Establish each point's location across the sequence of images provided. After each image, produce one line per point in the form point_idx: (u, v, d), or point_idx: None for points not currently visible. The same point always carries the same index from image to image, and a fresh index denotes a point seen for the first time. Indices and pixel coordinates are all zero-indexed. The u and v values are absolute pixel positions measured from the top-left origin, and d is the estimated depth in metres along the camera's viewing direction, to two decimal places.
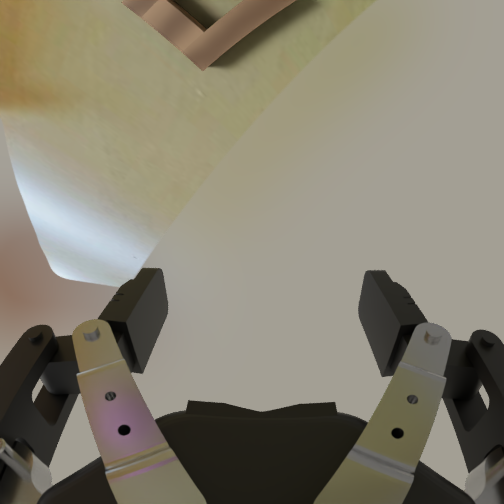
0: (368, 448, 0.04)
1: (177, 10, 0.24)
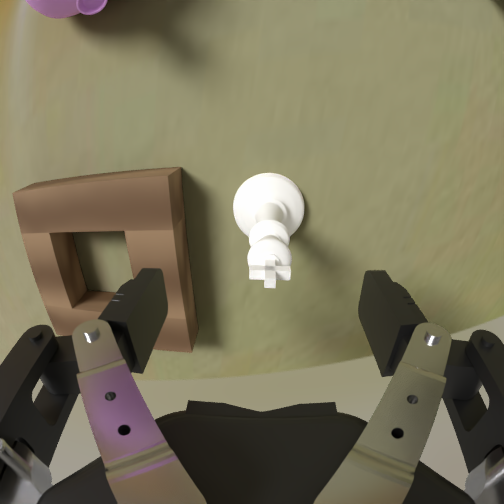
0: (368, 448, 0.04)
1: (56, 264, 0.20)
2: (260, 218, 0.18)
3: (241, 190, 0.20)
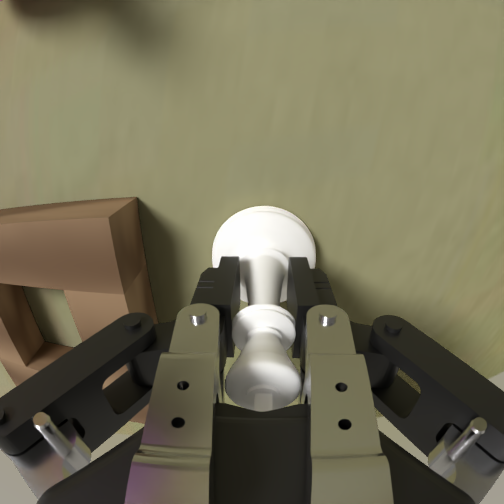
0: (368, 448, 0.04)
1: (0, 317, 0.14)
2: (250, 285, 0.11)
3: (222, 233, 0.13)
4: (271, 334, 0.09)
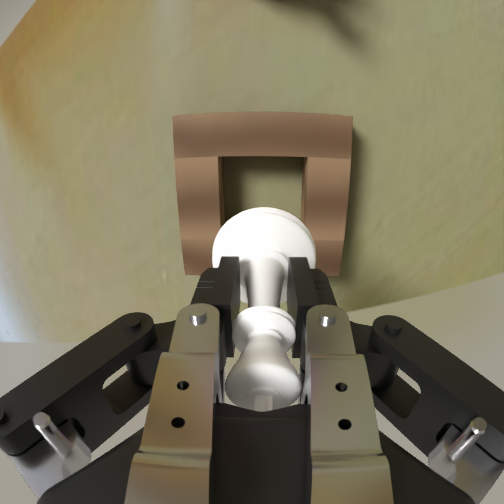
0: (368, 448, 0.04)
1: (217, 190, 0.24)
2: (250, 287, 0.11)
3: (223, 234, 0.13)
4: (271, 336, 0.09)
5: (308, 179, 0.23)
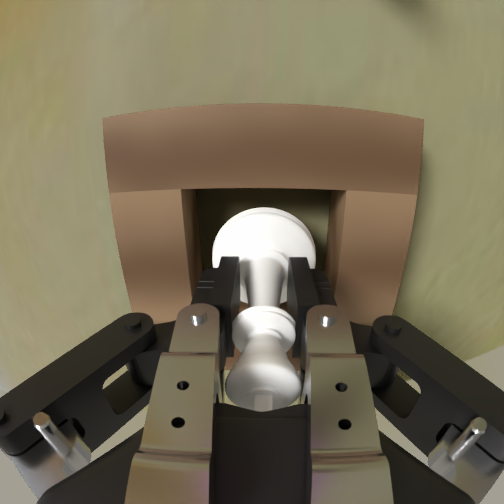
0: (368, 448, 0.04)
1: (183, 247, 0.14)
2: (250, 287, 0.11)
3: (223, 235, 0.13)
4: (271, 336, 0.09)
5: (345, 230, 0.13)
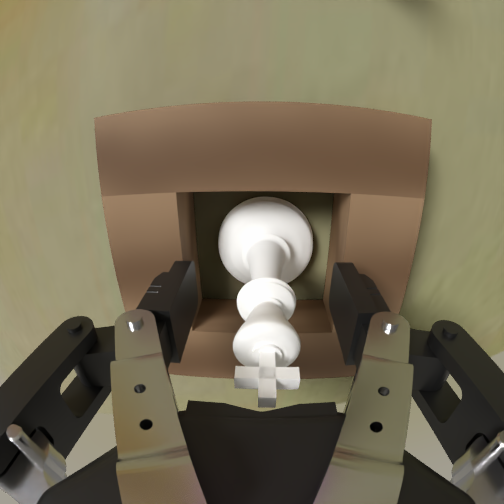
0: (368, 448, 0.04)
1: (179, 253, 0.13)
2: (253, 266, 0.13)
3: (228, 221, 0.15)
4: (273, 303, 0.10)
5: (349, 235, 0.12)
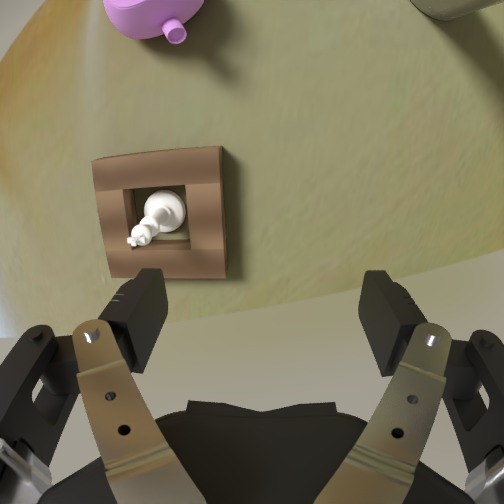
0: (368, 448, 0.04)
1: (124, 214, 0.31)
2: (151, 216, 0.30)
3: (147, 201, 0.32)
4: (148, 224, 0.28)
5: (187, 202, 0.30)
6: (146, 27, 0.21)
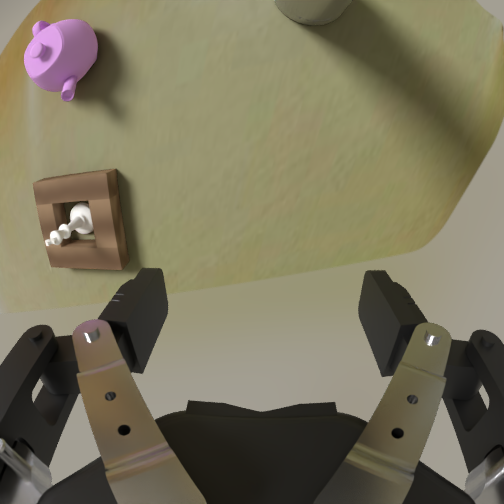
0: (368, 448, 0.04)
1: (55, 221, 0.38)
2: (69, 223, 0.37)
3: (71, 211, 0.39)
4: (62, 230, 0.35)
5: (91, 212, 0.37)
6: (54, 86, 0.28)
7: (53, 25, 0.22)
